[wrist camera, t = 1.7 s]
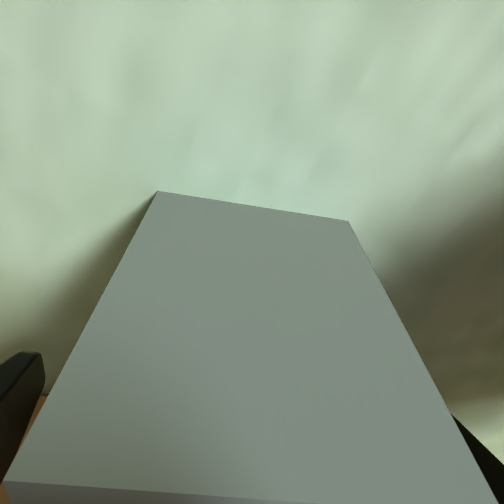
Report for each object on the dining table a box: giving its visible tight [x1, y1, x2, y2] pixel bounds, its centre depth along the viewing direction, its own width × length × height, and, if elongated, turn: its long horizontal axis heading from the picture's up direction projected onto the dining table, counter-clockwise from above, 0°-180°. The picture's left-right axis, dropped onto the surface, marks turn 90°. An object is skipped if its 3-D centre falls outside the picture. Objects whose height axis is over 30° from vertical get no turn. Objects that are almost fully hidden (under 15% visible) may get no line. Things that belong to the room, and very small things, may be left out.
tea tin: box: [3, 191, 498, 504], centre depth 8 cm, size 5×7×7 cm
